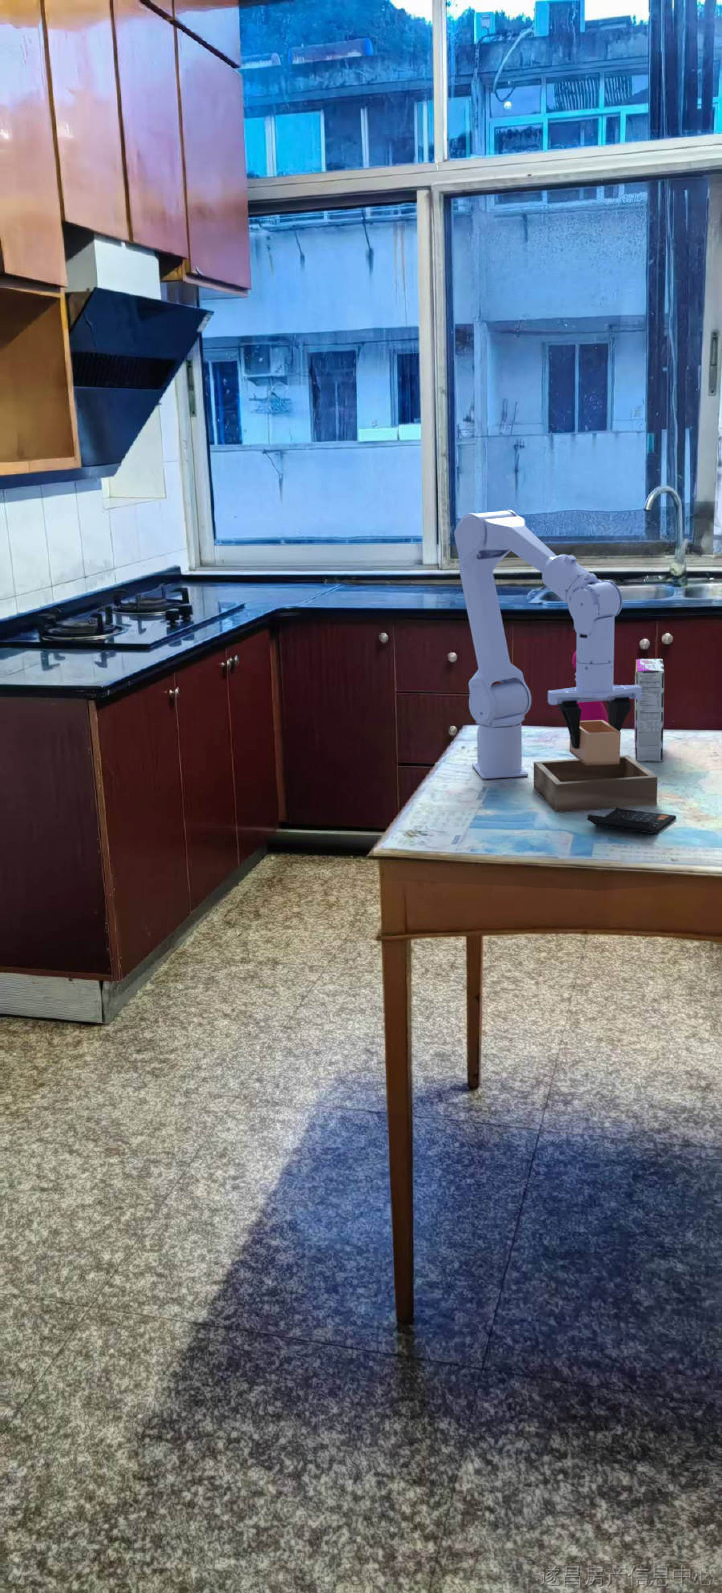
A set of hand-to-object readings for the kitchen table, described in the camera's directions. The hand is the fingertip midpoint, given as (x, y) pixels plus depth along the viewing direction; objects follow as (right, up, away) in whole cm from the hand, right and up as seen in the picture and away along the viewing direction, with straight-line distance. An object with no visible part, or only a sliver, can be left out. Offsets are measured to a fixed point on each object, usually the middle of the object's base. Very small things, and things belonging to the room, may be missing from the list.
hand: (594, 746), depth 199 cm
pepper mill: (+5, +1, +35) cm, 35 cm away
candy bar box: (+14, -1, +26) cm, 30 cm away
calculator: (+3, -13, -13) cm, 18 cm away
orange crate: (0, -2, 0) cm, 2 cm away
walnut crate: (0, -8, +2) cm, 8 cm away
